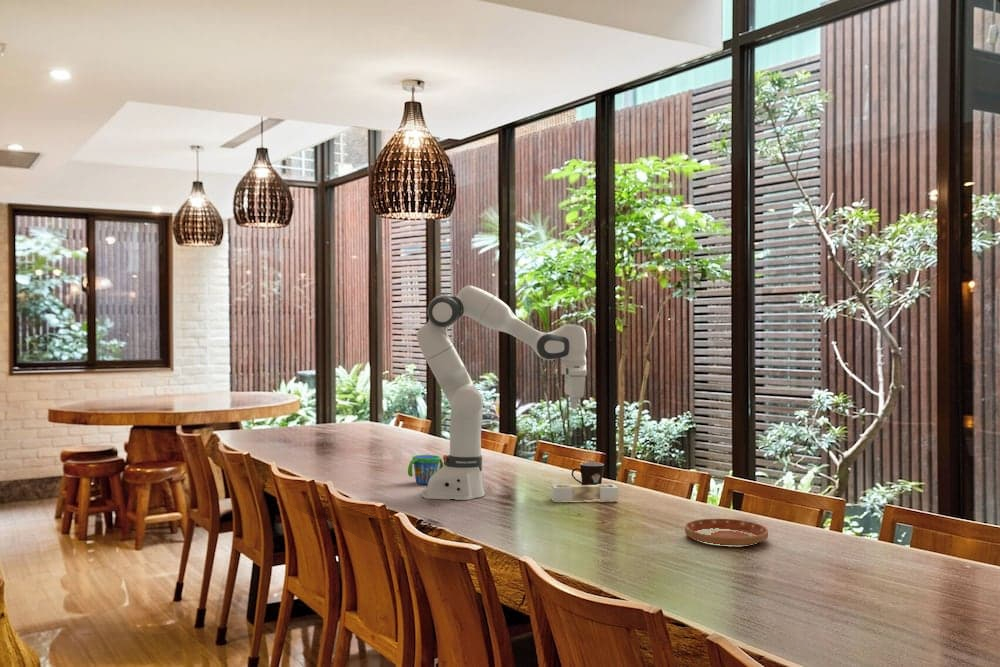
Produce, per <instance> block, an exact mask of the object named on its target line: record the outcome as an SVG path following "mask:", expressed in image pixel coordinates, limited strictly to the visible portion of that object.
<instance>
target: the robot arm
mask: <svg viewBox="0 0 1000 667" xmlns="http://www.w3.org/2000/svg"><path fill="white" fill-rule="evenodd" d="M426 313H427V317H428V321H427V323H426V324H423V325H422V326H421V327H420V328H419V329H418V330H417V333H416V340H417V343H418V346H419V348H420V351H421V353H422V355H423V357H424V359H425V362H426V363H427V364H428V366H429V368H430V370H431V372H432V374H433V376H434V378H435V380H436V381H437V383H438V385H439V387H440V389H441V391H442V392H443V394H444V396H445V398H446V400H447V402H448V404H450V426H449V427H450V429H449V454H443V456H442V461H443V465H444V466H443V467H442V468H441V469H439V468H438V471H437V472H435V473H434V474H433V475H432V476H431V477H430V479H429V482H428V485H427V488H425V489H423V490H422V491H421V493H420V494H421V497H422V498H423V497H424V499H427V500H429V499H430V500H450V499H455V500H454V501H458V500H459V501H469V500H470V501H471V500H472V499H478V498H482V497H484V496H486V492H485V489H484V483H483V477H482V471H483V456H482V423H483V412H484V411H483V408H484V398H483V396H482V393H481V392H479V390H478V389H477V387H476V385H475V384H474V382H473V379H472V377H471V376H470V374H469V372H468V370H467V368H466V366H465V364H464V362H463V360H462V358H461V357H460V355H459V352H457V349H456V347H455V346H454V344H453V341H452V340H451V338H450V336H449V333H448V328H449V327H451V325H453V324H455V323H456V322H457V321H458V320H459V319H460V318H461V317H463V316H464V317H468V318H470V319H472V320H474V321H475V322H476V323H478V324H480V325H482V326H484V327H486V328H488V329H491V330H495V331H497V332H502V333H506V334H508V335H511V336H512V337H514V338H516V339H518V340H519V341H521V342H523V343H524V344H526V345H527V346H529V347H530V348H531V350H532V351H533V353H534V354H535V356H537V358H539V359H541V360H543V361H553V360H556V359H561V367H560V368H561V372H560V374H561V375H564V394H566V395H568V396H569V404H570V406H569V408H571V409H572V410H576V409H577V407H578V400H579V399H581V398H584V395H585V387H586V376H587V375H588V370H587V357H586V353H587V349H588V348H587V346H588V345H587V343H588V342H587V332H586V329H585V328H584V327H583V326H582V325H580V324H575V323H564V324H563V325H562V326H560V327H558V328H556V329H554V330H552V331H549V332H548V331H547V332H546V331H540V330H538V329H536V328H534V327H532V326H531V325H529V324H528V323H526V322H525V321H522V320H521V319H519V318H518V317H517V316H516V315H515V313H514V311H513V310H512V309H511V307H509V305H508V304H507V303H505V302H504V301H503V300H501V299H500V298H499V297H497V296H496V295H494V294H492V293H490V292H489V291H486V290H485V289H483V288H480V287H478V286H474V285H470V284H469V285H466V286H464V287H463V288H461V289H460V290H459V292H458V293H457V294H456V295H455V296H450V295H446V294H440V295H437V296H435V297H434V298H433V299H432V300H430V302H429V303H428V306H427V312H426ZM578 398H579V399H578Z"/></svg>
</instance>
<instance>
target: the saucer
mask: <svg viewBox="0 0 1000 667" xmlns="http://www.w3.org/2000/svg"><path fill="white" fill-rule="evenodd" d="M710 528H713V529H715V528H719V529H730V530H738V531H743V532H747V533H752V534H754V535H756V536H751V537H750V536H749V535H747V534H744V533H740V532H737V531H736V532H733V531H718V532H715V533H711V535H705V534H700V533H697V532H695V531H698V530H702V529H710ZM684 532H685V534H686V536H688V537H689V538H691V539H692V538H694V539H696V540H699V541H702V542H707V543H713V544H720V545H750V544H755V543H759V542H760V543H762V542H764V541H766V540H767V539H768V537H769V530H768V528H767V527H765V525H762V524H759V523H756V522H752V521H746V520H743V519H733V518H704V519H703V518H701V519H695V520H691V521H688V522H687V523H686V524H685V525H684ZM760 543H759V544H760Z"/></svg>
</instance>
